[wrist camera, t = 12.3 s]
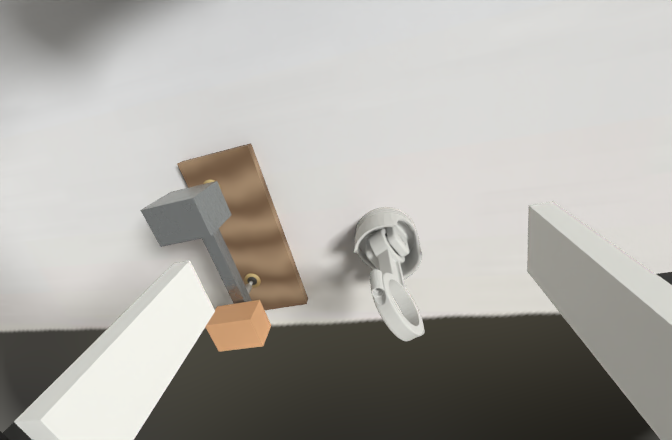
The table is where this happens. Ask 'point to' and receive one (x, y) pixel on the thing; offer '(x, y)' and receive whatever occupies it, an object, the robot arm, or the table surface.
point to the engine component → (391, 267)
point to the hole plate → (250, 225)
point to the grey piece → (198, 228)
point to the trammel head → (239, 325)
